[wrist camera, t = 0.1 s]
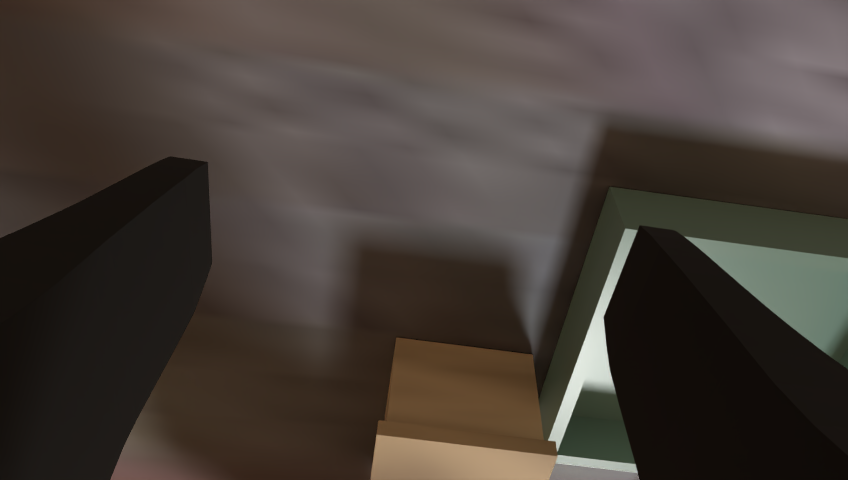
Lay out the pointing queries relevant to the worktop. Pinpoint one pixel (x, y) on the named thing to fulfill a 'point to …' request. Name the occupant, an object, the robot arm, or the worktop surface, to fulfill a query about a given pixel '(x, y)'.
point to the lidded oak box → (461, 416)
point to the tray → (736, 254)
